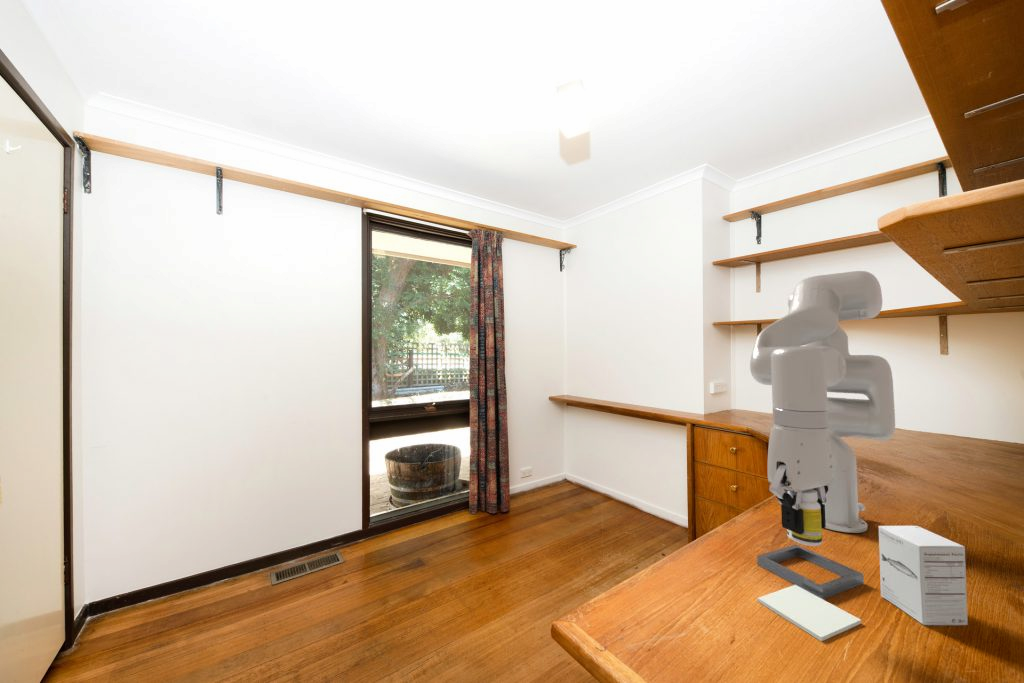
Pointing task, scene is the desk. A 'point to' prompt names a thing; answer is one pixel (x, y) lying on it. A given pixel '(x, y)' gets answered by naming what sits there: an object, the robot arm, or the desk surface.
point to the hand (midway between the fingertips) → (803, 526)
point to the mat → (809, 612)
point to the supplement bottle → (809, 519)
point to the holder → (821, 591)
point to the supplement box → (923, 575)
